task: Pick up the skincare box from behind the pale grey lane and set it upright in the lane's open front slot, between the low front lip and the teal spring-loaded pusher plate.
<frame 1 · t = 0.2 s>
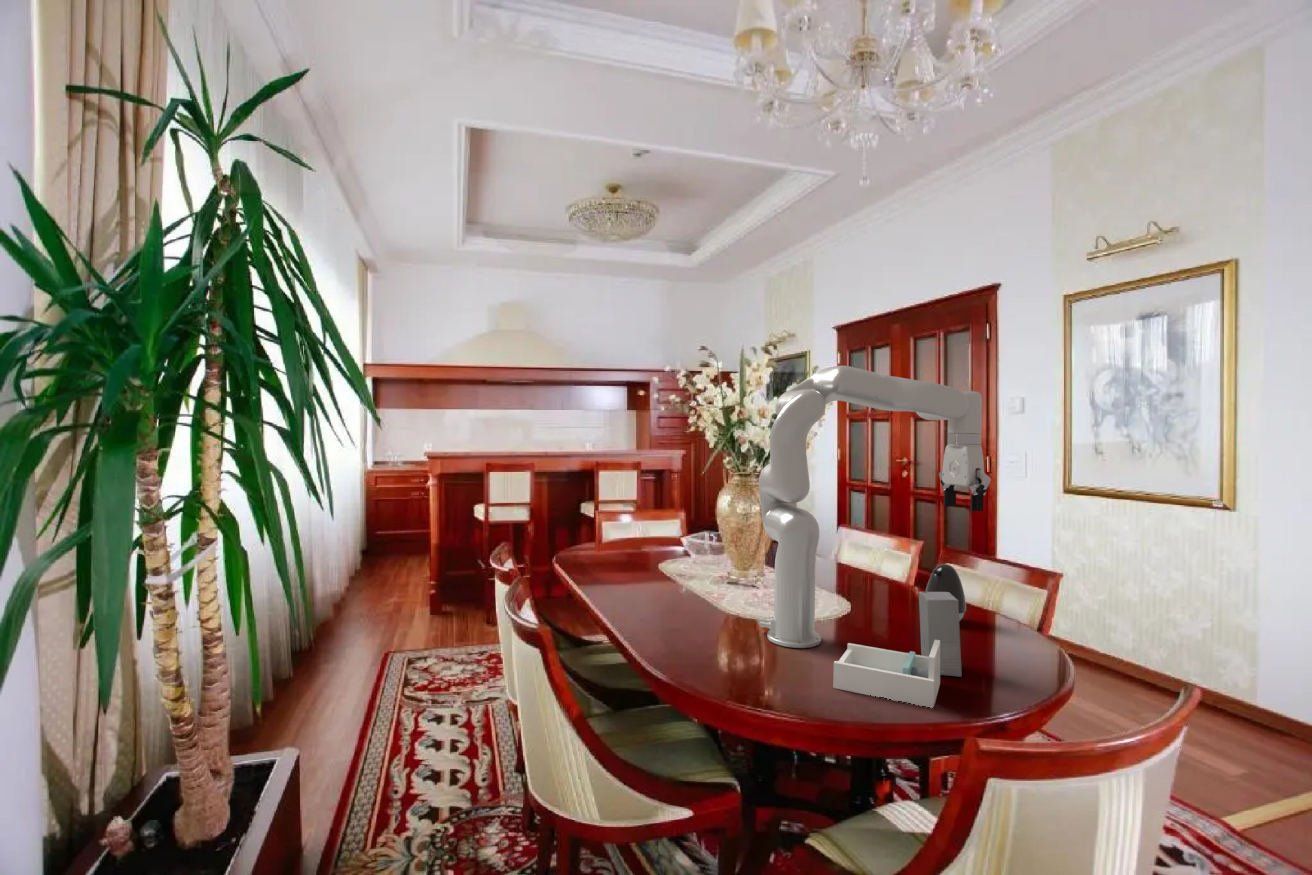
hand: (962, 508, 159), 31 cm above the table, tool pointing down, fingers open, 9 cm apart
dark grey egg shape: (944, 622, 167), on the table
lane: (887, 685, 125), on the table
pusher: (917, 673, 122), point 4 cm above the table, slide at 0.0 cm
skincare box: (938, 669, 134), on the table
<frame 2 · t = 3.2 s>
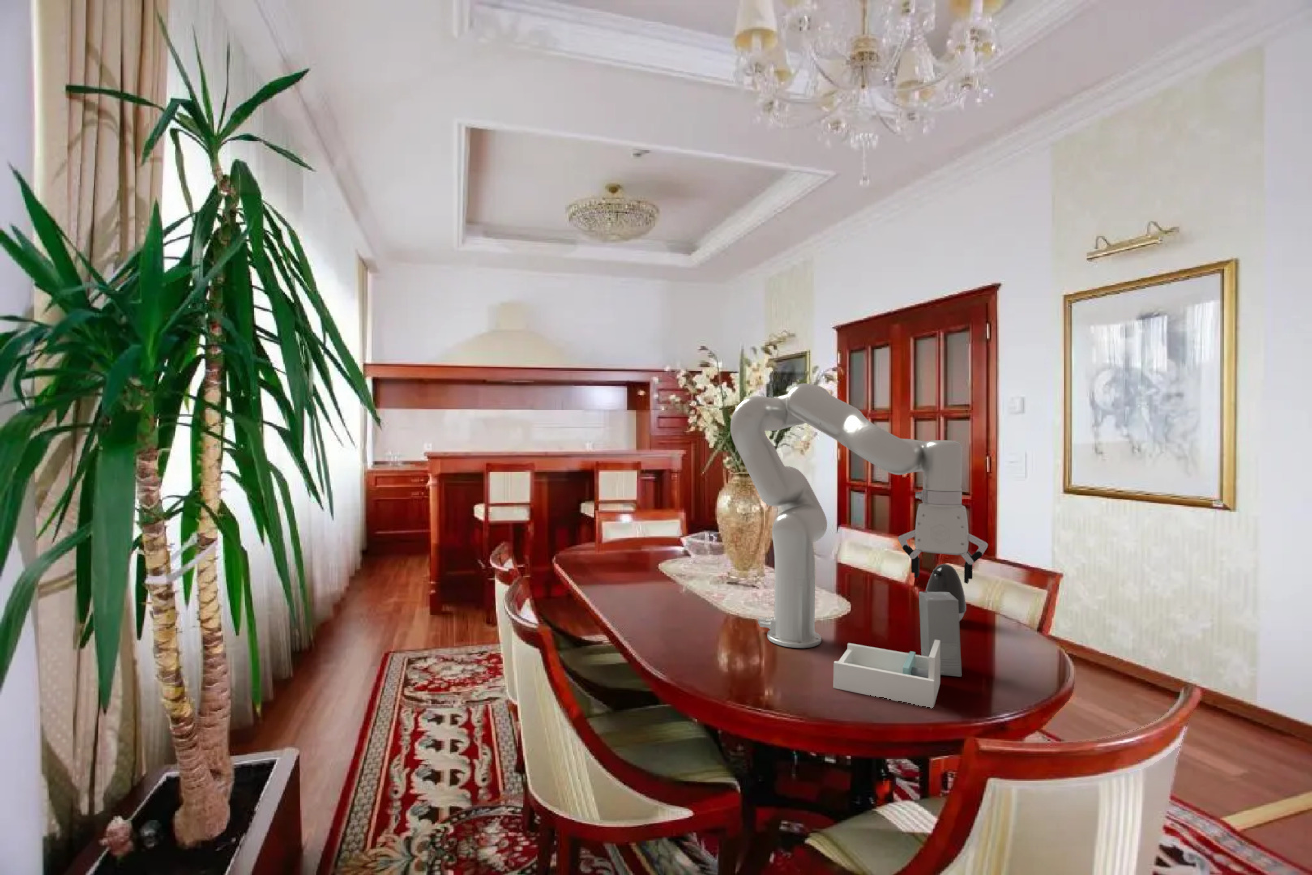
hand: (941, 579, 133), 19 cm above the table, tool pointing down, fingers open, 9 cm apart
nothing on the table moved.
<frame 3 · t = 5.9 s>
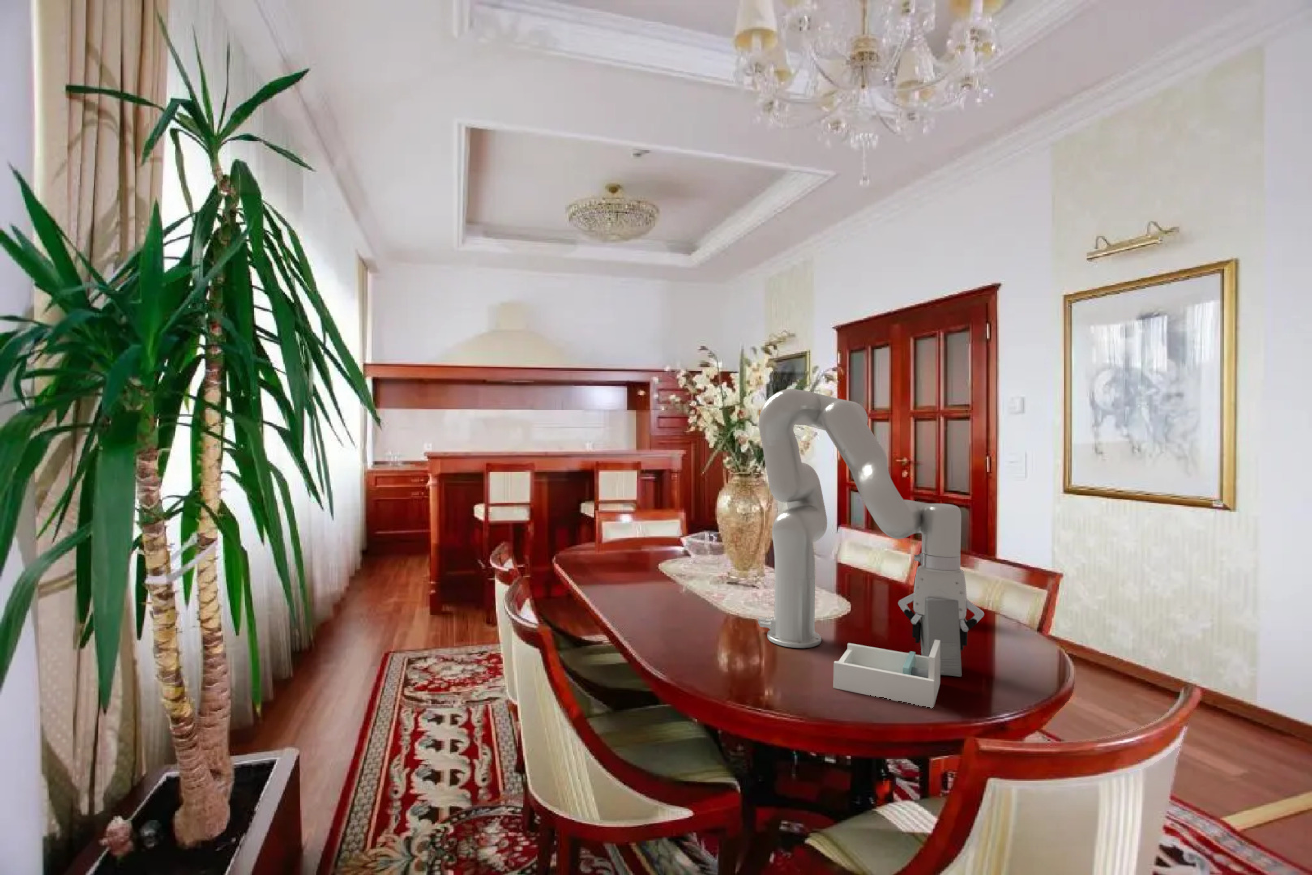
hand: (939, 644, 134), 5 cm above the table, tool pointing down, fingers closed on skincare box, 7 cm apart
skincare box: (938, 669, 134), on the table, touching gripper
everything else where it was.
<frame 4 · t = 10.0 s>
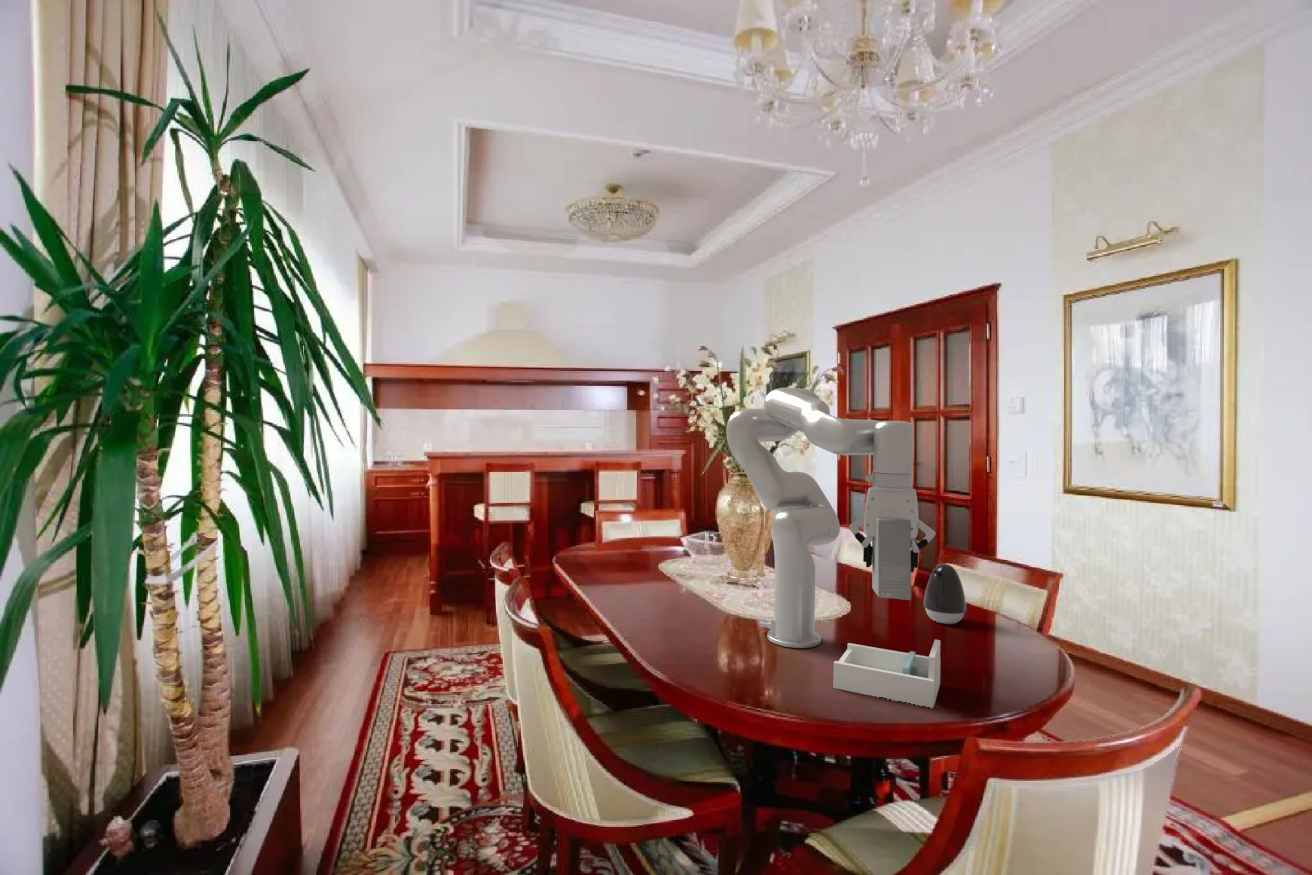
hand: (890, 567, 128), 23 cm above the table, tool pointing down, fingers closed on skincare box, 7 cm apart
skincare box: (888, 594, 128), point 17 cm above the table, touching gripper
everything else where it was.
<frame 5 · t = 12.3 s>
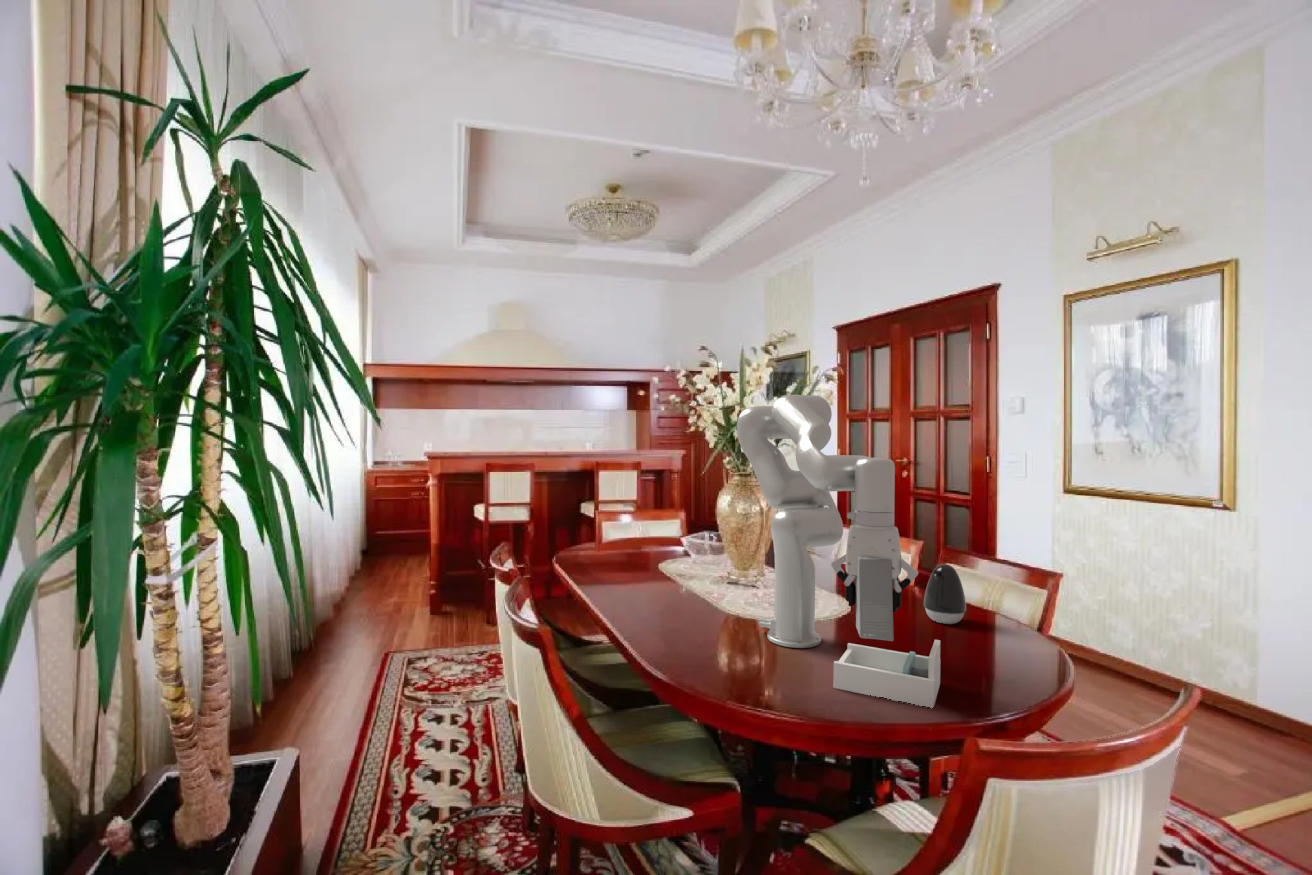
hand: (873, 607, 126), 15 cm above the table, tool pointing down, fingers closed on skincare box, 7 cm apart
skincare box: (872, 634, 126), point 10 cm above the table, touching gripper
everything else where it was.
when the fingers open (8 cm above the table, at t = 14.2 s): skincare box drops 2 cm, resting on lane.
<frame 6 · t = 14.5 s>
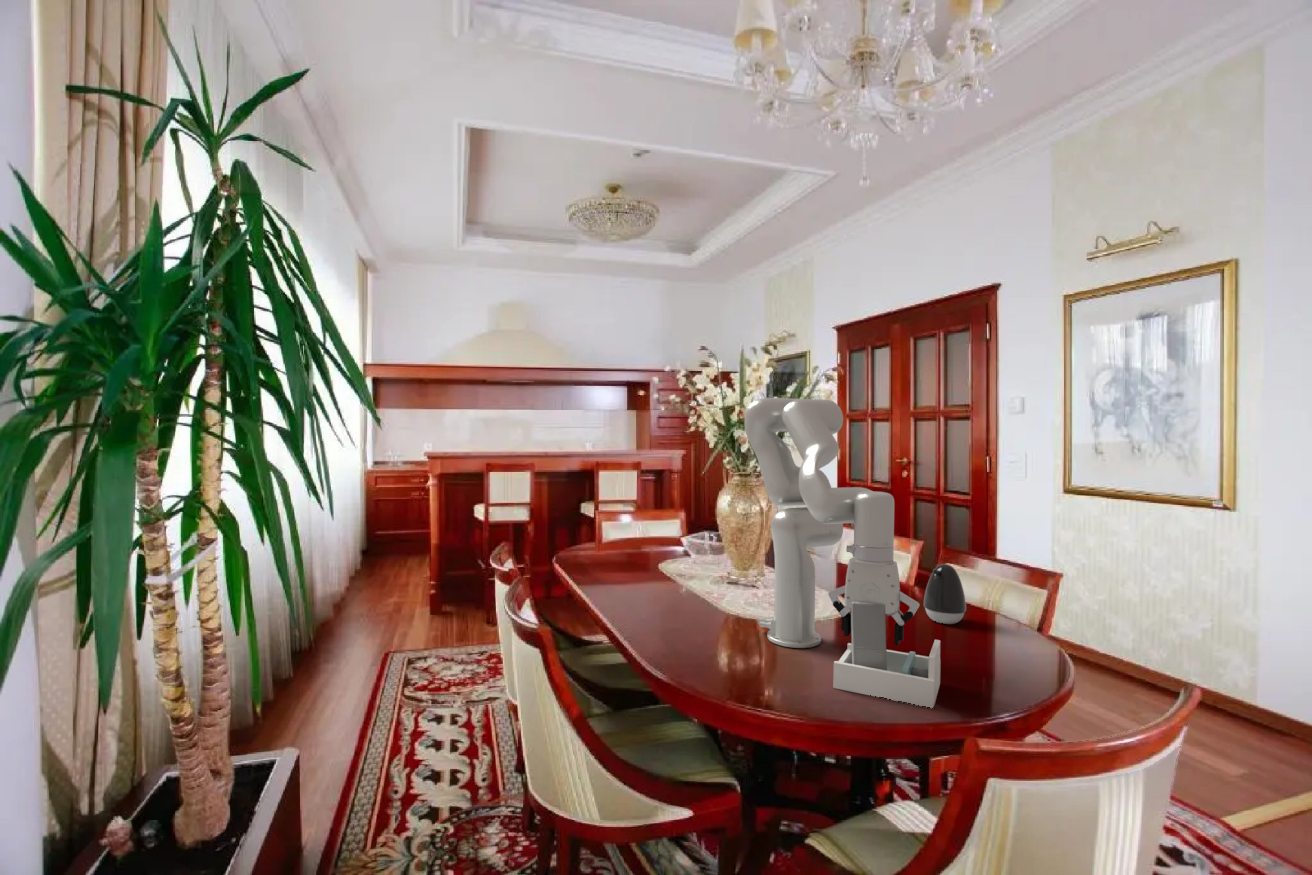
hand: (871, 638, 126), 9 cm above the table, tool pointing down, fingers open, 9 cm apart
skincare box: (867, 677, 126), point 1 cm above the table, touching gripper, lane
everything else where it was.
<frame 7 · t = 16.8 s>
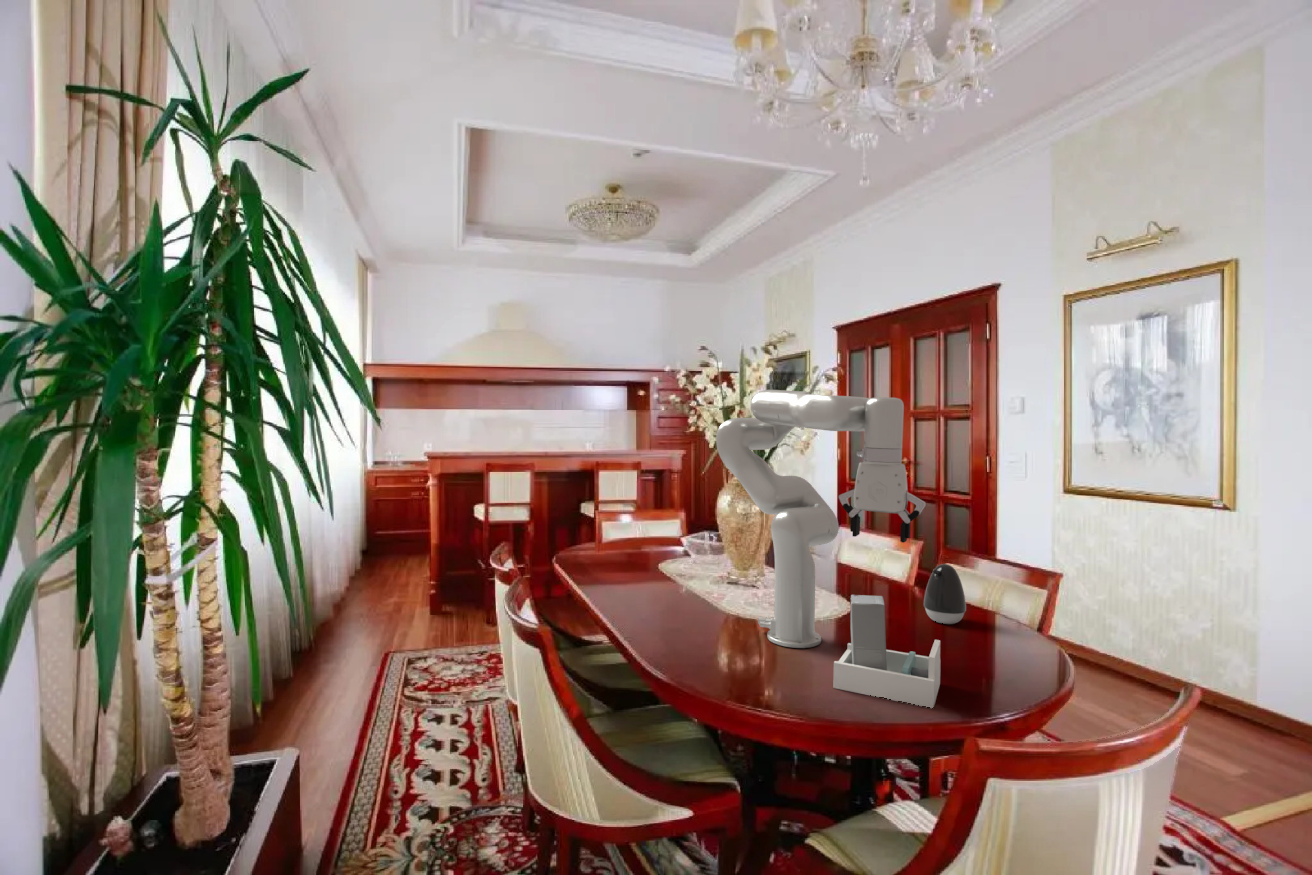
hand: (879, 538, 132), 28 cm above the table, tool pointing down, fingers open, 9 cm apart
skincare box: (867, 677, 126), point 1 cm above the table, touching lane
everything else where it was.
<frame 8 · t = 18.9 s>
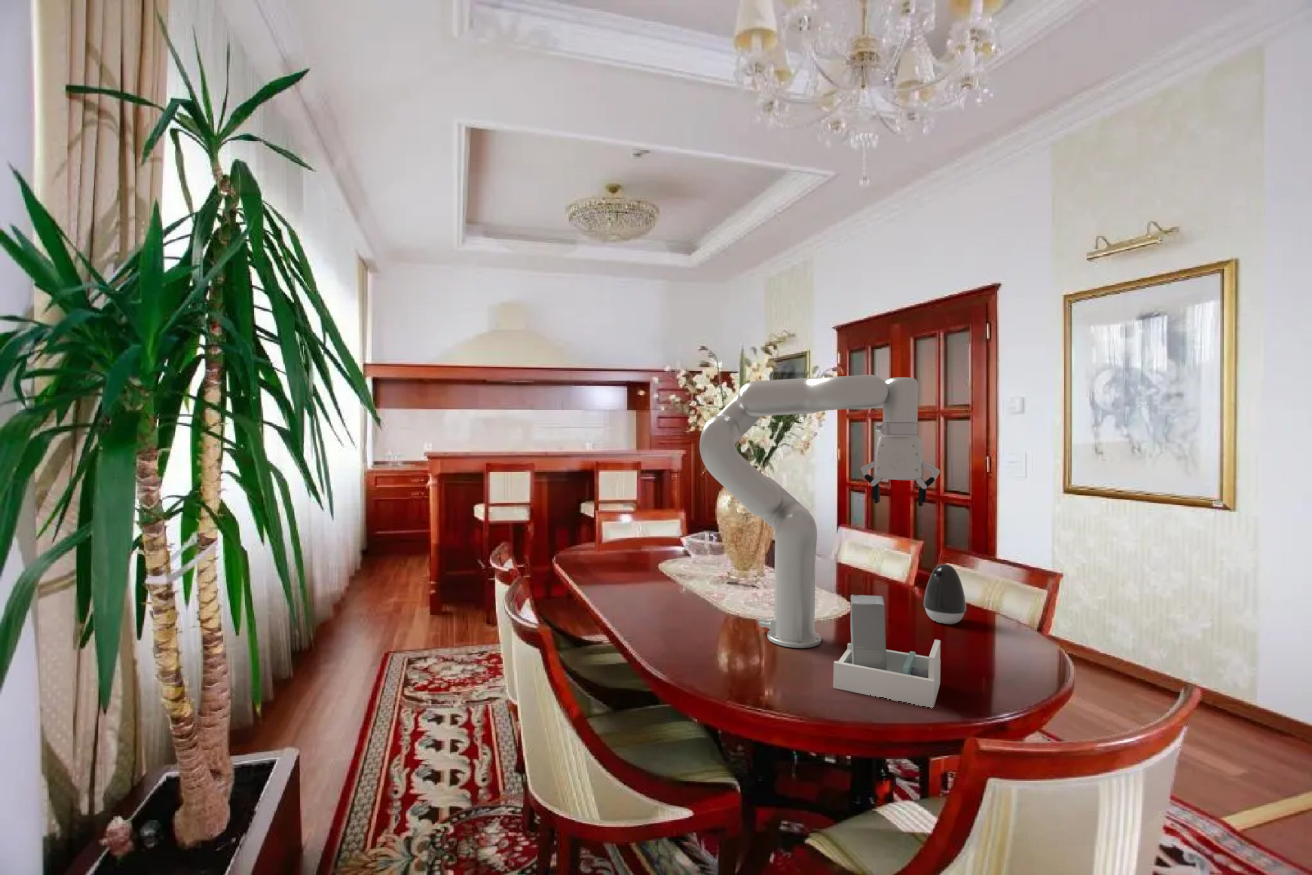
hand: (898, 504, 147), 33 cm above the table, tool pointing down, fingers open, 9 cm apart
nothing on the table moved.
at the end: skincare box inside the target area on the lane (1.2 cm from its centre), point 0.8 cm above the lane's base; skincare box tilted 0°; the gripper is holding nothing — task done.
